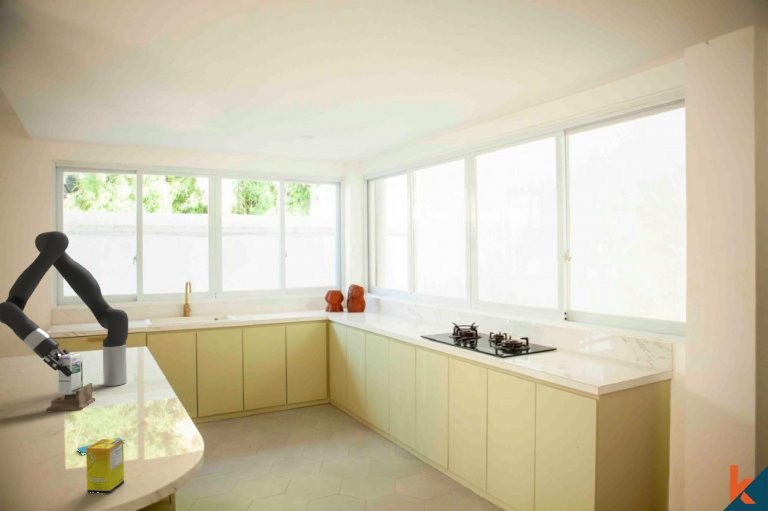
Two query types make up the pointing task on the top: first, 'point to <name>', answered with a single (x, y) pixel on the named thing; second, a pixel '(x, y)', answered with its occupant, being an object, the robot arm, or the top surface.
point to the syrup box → (76, 378)
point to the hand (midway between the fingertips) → (75, 372)
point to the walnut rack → (73, 400)
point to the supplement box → (105, 465)
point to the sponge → (83, 449)
